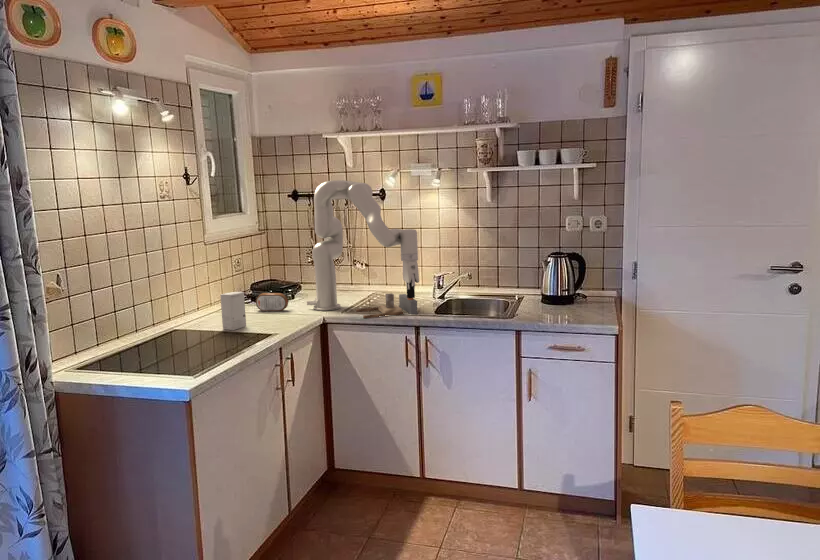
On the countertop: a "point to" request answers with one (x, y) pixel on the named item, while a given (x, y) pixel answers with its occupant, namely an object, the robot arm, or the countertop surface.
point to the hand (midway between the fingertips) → (410, 297)
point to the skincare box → (233, 310)
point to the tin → (271, 302)
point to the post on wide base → (389, 305)
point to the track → (376, 314)
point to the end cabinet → (407, 304)
